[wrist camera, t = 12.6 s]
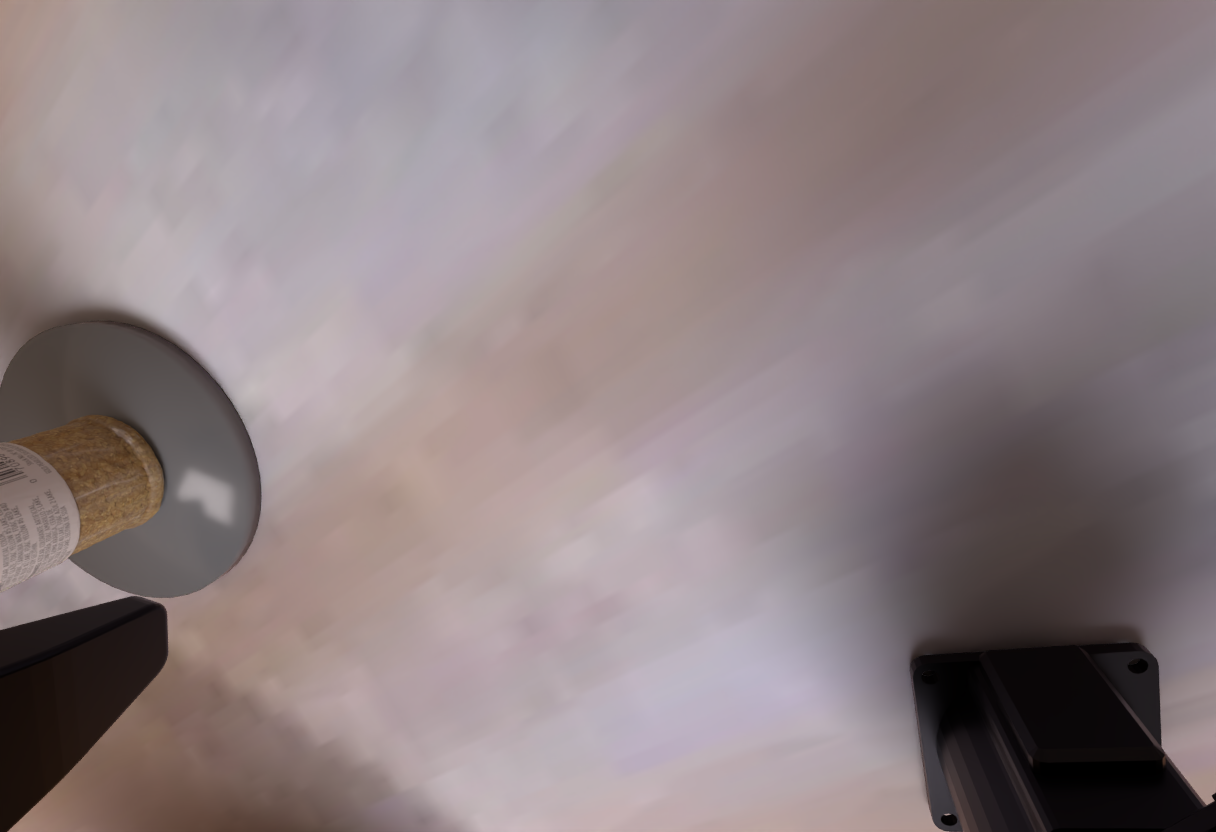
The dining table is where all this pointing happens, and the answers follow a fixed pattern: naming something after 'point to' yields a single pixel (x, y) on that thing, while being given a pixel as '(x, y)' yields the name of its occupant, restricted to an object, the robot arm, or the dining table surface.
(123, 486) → the sprinkles bottle
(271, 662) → the dining table surface
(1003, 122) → the dining table surface
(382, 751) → the dining table surface
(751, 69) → the dining table surface
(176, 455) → the slate gray plate
